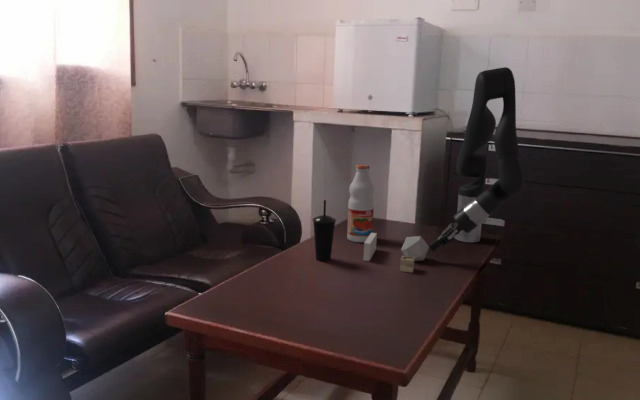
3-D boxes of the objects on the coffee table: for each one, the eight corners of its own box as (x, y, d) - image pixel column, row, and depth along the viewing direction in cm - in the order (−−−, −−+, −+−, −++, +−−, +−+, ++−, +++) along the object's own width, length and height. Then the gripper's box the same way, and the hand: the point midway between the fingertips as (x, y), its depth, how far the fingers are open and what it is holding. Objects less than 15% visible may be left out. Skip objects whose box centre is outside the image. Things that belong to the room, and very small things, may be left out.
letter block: (401, 267, 197) (402, 255, 197) (413, 268, 196) (414, 256, 196) (399, 271, 193) (400, 259, 193) (412, 272, 193) (413, 260, 192)
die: (425, 266, 200) (436, 240, 203) (402, 254, 199) (414, 228, 201) (415, 268, 208) (426, 243, 210) (393, 256, 207) (405, 231, 209)
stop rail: (370, 249, 216) (371, 232, 215) (376, 249, 216) (376, 233, 215) (363, 260, 203) (364, 243, 202) (369, 261, 203) (370, 243, 201)
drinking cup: (307, 260, 202) (308, 200, 198) (318, 254, 208) (320, 196, 204) (328, 264, 198) (330, 203, 194) (338, 258, 205) (340, 199, 201)
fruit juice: (363, 235, 235) (366, 162, 229) (377, 241, 226) (380, 166, 221) (342, 237, 230) (344, 163, 224) (355, 244, 222) (358, 167, 216)
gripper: (464, 203, 205) (424, 235, 210) (463, 211, 192) (421, 245, 197) (479, 219, 205) (439, 251, 210) (479, 229, 192) (437, 263, 197)
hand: (431, 248), depth 204 cm, fingers closed
